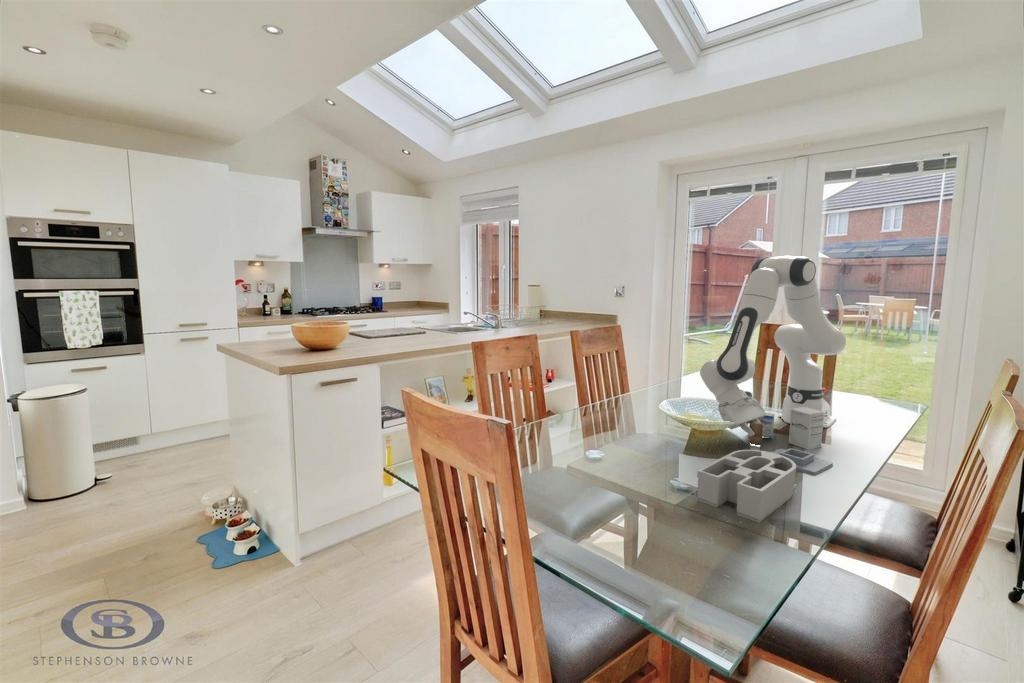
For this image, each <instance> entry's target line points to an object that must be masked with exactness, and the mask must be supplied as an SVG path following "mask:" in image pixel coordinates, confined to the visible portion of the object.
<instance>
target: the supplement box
mask: <svg viewBox="0 0 1024 683" xmlns="http://www.w3.org/2000/svg"><path fill="white" fill-rule="evenodd" d="M823 420H824V412H822V411H818V410H815V409H811V408H807V407H800V408H794V409H791V420H790V423H789V424H790V425H789V433H788V434H789V436H788V444H791V445H794V446H797V447H799V448H802V449H805V450H812V449H816V448H820V447H822V441H823V440H822V439H823V432H824V431H823V430H824V427H823Z"/></svg>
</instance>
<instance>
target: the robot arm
mask: <svg viewBox="0 0 1024 683" xmlns="http://www.w3.org/2000/svg"><path fill="white" fill-rule="evenodd" d="M750 273H751V274H750V276H749V278H748V280H747V282H746V284H745V287H744V289H743V293H742V297H741V300H740V304H739V308H738V313H737V318H736V320H735V323H734V326H733V329H732V332H731V335H730V338H729V341H728V344H727V346H726V348H725V349H724V351H723V352H722V353H721V354H720V355H719V356H718V359H709V360H708V361H706V362H705V363H704V364H703V365H702V366H701V368H700V370H699V376H700V378H701V380H702V382H703V383H704V385H705V386H706V388H707V389H708V390H709V392H711V393H712V394H713V396H714V397H715V400H716V402H718V406H717V409H718V411H719V415H720V417H721V419H722V421H723V422H724V421H730V422H735V424H733V425H730V426H728V427H727V428H728V429H730V430H733V429H736V428H737V429H738V428H741V430H743V431H744V432H746V433H747V434H748V436H749V435H750V436H754V435H755V434H756V432H755V431H754V430H753V429H751V428H750V427H749V423H750V422H760V419H762V418H763V417H765V416H766V413H767V412H766V411H765V408H763V406H762V405H761V404H760V402H759V401H758V400H757V399H756V398H754V397H755V395H754V394H753V392H751V391H747V390H744V389H740V387H739V386H738V385H740V384H742V383H745V382H747V381H749V380H750V379H752V378H753V377H754V375H755V373H756V372H757V371H756V368H757V367H756V364H755V362H754V360H752V359H751V358H749V357H748V356H747V355H748V354H747V352H748V349H749V346H750V343H751V339H752V337H753V334H754V332H755V330H756V328H758V326H760V325H761V324H763V323H765V322H767V321H768V320H769V319H770V317H771V316H772V314H773V311H774V309H775V306H776V302H777V299H778V295H779V294H778V293H779V289H780V288H781V287H783V292H784V299H785V305H786V309H787V314H788V316H789V317H790V318H791V319H792V320H793V321H796V322H797V323H794V324H793V323H792V324H783V325H780V326H779V327H778V328H777V329H776V330H775V333H774V336H773V337H774V343H775V345H776V346H777V348H779V349H780V350H781V351H782V352H783V354H784V356H785V357H786V359H787V362H788V365H789V385H788V386H787V390H786V391H787V393H786V394H787V396H786V397H785V398H783V402H782V403H783V404H782V409H781V413H779V414H778V416H779V417H778V418H780V417H781V418H780V419H781V420H782V419H783V420H784V421H783V420H782V421H783V422H785V423H787V424H790V420H791V409H794V408H800V407H807V408H811V409H815V410H818V411H822V412H824V420H823V428H824V429H825V428H826V429H827V428H828V429H829V428H830V426H832V424H834V423H835V422H836V420H837V417H836V416H833V415H830V414H831V405H830V404H829V403H828V402H827V401H826V399H824V394H825V393H826V392H827V391H826V390H827V389H826V388H825V387H822V385H823V375H824V374H823V369H822V366H820V365H819V364H817V363H816V362H815V361H814V360H813V359H812V357H811V355H820V356H834V355H835V356H836V355H839V354H841V353H842V351H844V350H845V347H846V346H847V337H846V335H845V333H844V332H843V330H841V329H839V328H837V327H836V326H835V325H834V324H833V323H832V322H831V321H830V320H829V319H828V317H826V315H825V313H824V311H823V309H822V305H821V300H820V294H819V288H818V283H817V280H816V279H817V278H816V277H815V276H816V273H817V266H816V263H815V262H814V261H813V259H811V258H810V257H807V256H800V255H799V256H793V255H792V256H791V255H782V256H774V257H773V256H771V257H768V256H767V257H762V258H759V259H757V260H756V261H755V262H754V264H753V265H752V268H751V270H750ZM763 431H764V429H763Z"/></svg>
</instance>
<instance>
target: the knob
mask: <svg viewBox="0 0 1024 683" xmlns="http://www.w3.org/2000/svg"><path fill="white" fill-rule="evenodd" d="M750 428H751V429H753V430H754V431H755V432H756V434H755V435H754V436H750V435H749V434H748V437H749V438H748V443H749V442H750V443H751V444H755V445H762V446H763V438H762V433H763V423H761V422H750Z"/></svg>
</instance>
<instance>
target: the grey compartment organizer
mask: <svg viewBox="0 0 1024 683" xmlns="http://www.w3.org/2000/svg"><path fill="white" fill-rule="evenodd" d="M771 452H772V451H766V450H758V449H740V450H734V451H732V452H730V453H728V454H726V455H724V456H722V457H720V458H718V459H716V460H715V461H713V462H711V463H709V464H707V465H705V466H704V467H701V468H699V469H697V473H696V474H697V476H696V478H697V491H696V492H697V500H698V502H701V503H703V504H706V505H710V506H711V507H714V508H718V507H720V506H722V505H723V504H725V503H726V502H731V503H734V504H736V514H737V516H739V517H742V518H745V519H748V520H750V521H753V522H756V523H758V524H759V523H761V522H762V521H763V520H764V519H766V518H768V516H769V515H771V514H772V513H773V512H775V511H776V510H777V509H779V508H780V507H781V506H782V505H783V504H784V503H785V504H786V502H787V501H789V500H790V499H791V498H792V496H793V495H794V492H795V491H794V489H795V478H796V472H797V470H796V464H795V463H794V462H793V461H792V460H790V459H789V458H787V457H784V456H782V455H779V454H775V453H771Z"/></svg>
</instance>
